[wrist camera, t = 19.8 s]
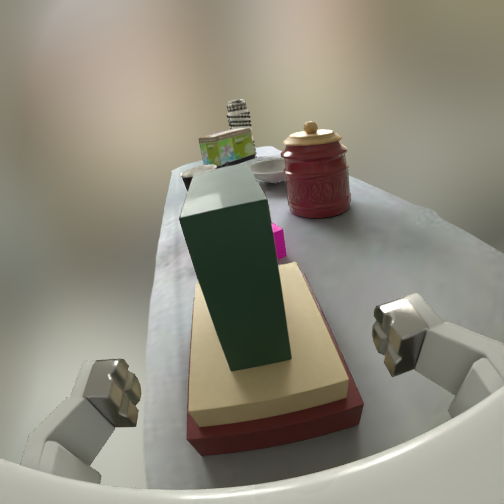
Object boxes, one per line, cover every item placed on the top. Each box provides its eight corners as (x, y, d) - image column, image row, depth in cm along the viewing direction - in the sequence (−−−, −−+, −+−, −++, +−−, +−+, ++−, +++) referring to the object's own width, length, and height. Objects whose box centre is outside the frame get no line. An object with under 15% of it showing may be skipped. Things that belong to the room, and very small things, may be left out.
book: (292, 359, 20) (268, 198, 14) (230, 372, 20) (177, 218, 14) (270, 282, 29) (248, 161, 23) (224, 291, 29) (193, 173, 23)
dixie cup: (228, 219, 62) (217, 169, 56) (191, 227, 61) (178, 178, 56) (226, 207, 69) (216, 162, 63) (193, 214, 68) (181, 170, 63)
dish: (244, 181, 86) (240, 165, 84) (289, 171, 88) (287, 155, 85) (258, 197, 71) (255, 177, 68) (313, 184, 73) (310, 165, 70)
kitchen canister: (355, 217, 52) (347, 121, 44) (286, 222, 55) (271, 128, 47) (347, 194, 63) (340, 116, 55) (291, 198, 66) (279, 121, 58)
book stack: (359, 424, 20) (368, 385, 17) (201, 456, 19) (173, 424, 17) (306, 296, 35) (302, 254, 33) (202, 318, 35) (187, 278, 32)
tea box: (225, 181, 90) (215, 135, 83) (206, 179, 97) (196, 137, 90) (258, 167, 98) (250, 126, 91) (238, 166, 105) (231, 128, 98)
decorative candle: (252, 160, 112) (240, 98, 100) (231, 162, 116) (219, 103, 104) (261, 155, 118) (250, 97, 107) (241, 156, 123) (230, 101, 111)
